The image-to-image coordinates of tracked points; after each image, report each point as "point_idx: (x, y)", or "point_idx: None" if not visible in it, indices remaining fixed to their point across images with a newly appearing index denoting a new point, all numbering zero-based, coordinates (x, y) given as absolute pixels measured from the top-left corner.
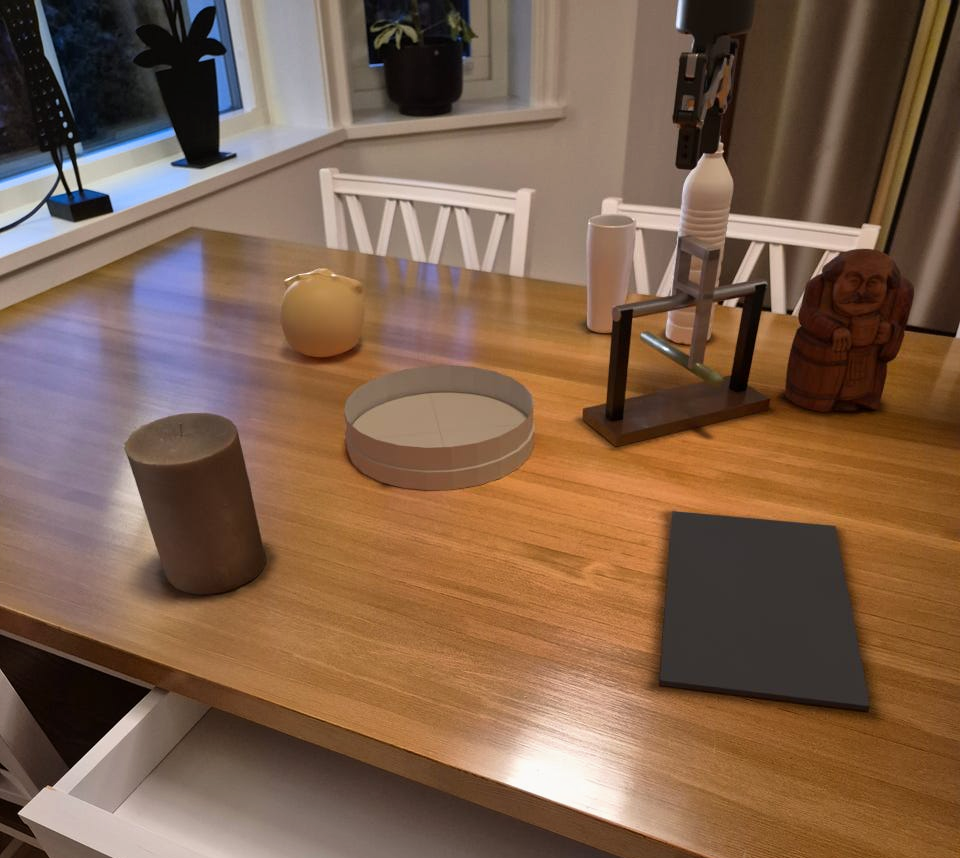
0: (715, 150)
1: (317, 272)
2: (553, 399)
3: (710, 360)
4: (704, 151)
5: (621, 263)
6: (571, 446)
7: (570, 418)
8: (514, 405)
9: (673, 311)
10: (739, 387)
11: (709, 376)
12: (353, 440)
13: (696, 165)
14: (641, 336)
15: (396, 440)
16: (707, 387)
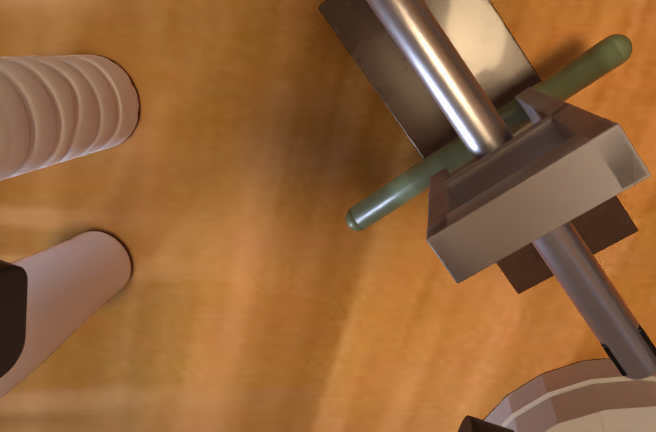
0: (12, 272)
1: None
2: (432, 333)
3: (202, 51)
4: (20, 327)
5: (37, 298)
6: (627, 297)
7: (509, 303)
8: (518, 404)
9: (93, 147)
10: None
11: (611, 70)
12: None
13: (491, 425)
14: (363, 229)
15: None
16: (390, 58)
